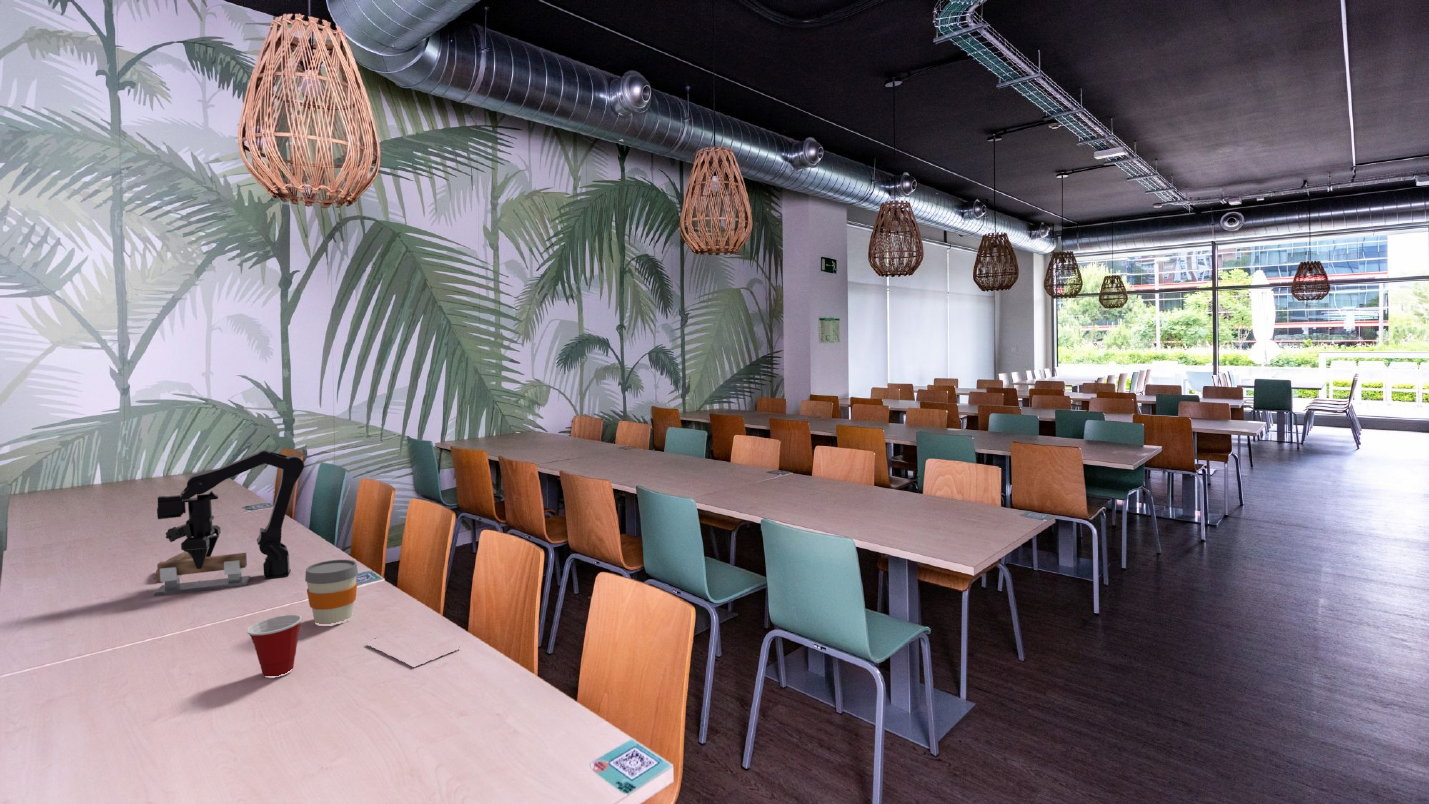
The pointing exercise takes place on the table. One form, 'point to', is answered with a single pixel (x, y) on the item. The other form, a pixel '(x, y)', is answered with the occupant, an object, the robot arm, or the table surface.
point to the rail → (203, 564)
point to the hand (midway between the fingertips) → (203, 564)
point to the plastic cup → (276, 643)
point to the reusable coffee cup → (332, 590)
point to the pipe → (178, 557)
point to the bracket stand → (175, 586)
